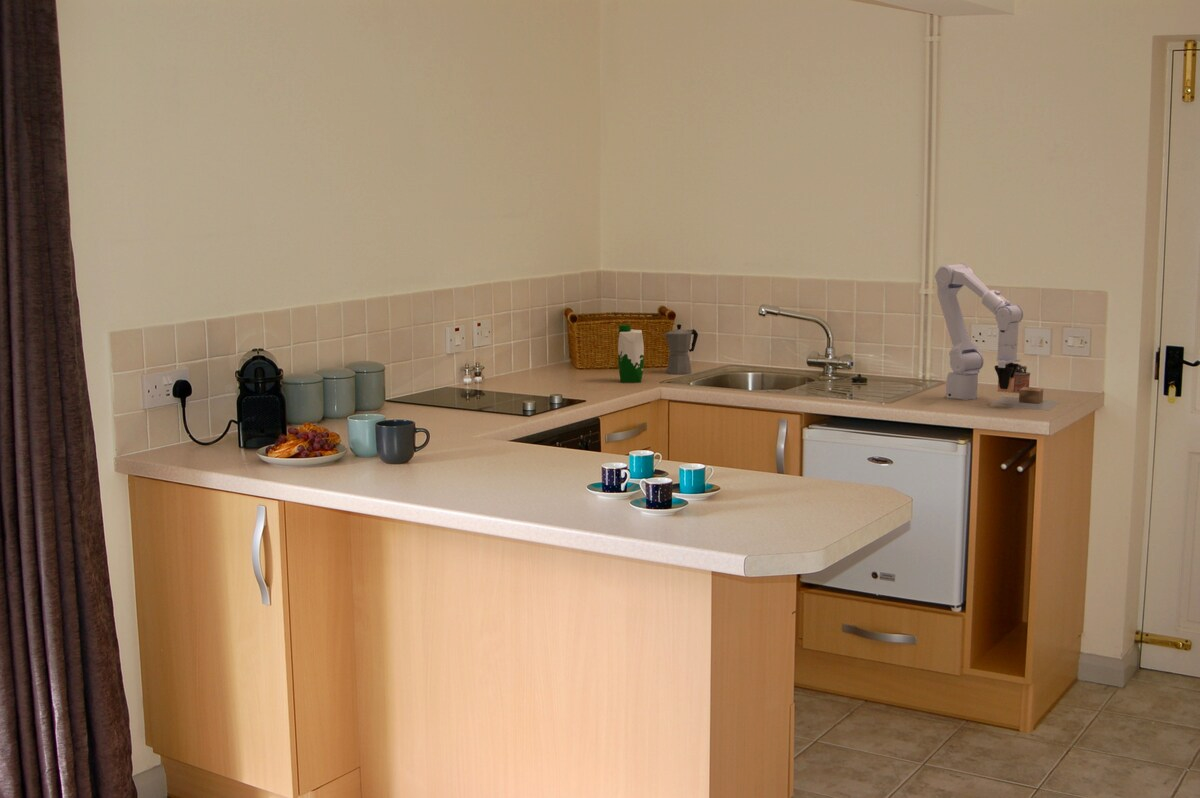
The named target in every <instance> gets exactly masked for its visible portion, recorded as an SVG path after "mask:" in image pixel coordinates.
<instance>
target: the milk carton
mask: <svg viewBox="0 0 1200 798" xmlns="http://www.w3.org/2000/svg"><path fill="white" fill-rule="evenodd" d="M644 349H645V346H644V337H643V331H642V329H631V325H630V324H619V325H618V344H617V350H618V352H617V354H618V359H617V363H618V372H619V373H618V374H619V378H620V383H621V384H622V383H623V384H624V383H625V384H626V383H627V384H629V383H631V384H632V383H633V384H634V383H642V379H643V375H644V367H645V365H644V364H645V350H644Z"/></svg>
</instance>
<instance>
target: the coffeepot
mask: <svg viewBox="0 0 1200 798" xmlns="http://www.w3.org/2000/svg"><path fill="white" fill-rule="evenodd" d="M676 328H677V329H674V330H669V331H666V332H665V333H664V337H665V338H666V341H667V347H668V351H669V355H668V360H667V366H666V373H667V374H668V375H676V376H677V375H679V376H680V375H689V374H691V373H692V366H691V360H690V355H689V353H690V352H691V353H692V352H694V351H695V348H696V344H697V340H698V338H699V334H698V332H697V331H696V329H694V328H693V329H692V328H691V329H686V330H685V329H682V324H680V323H678V324H676ZM692 335H693V337H692ZM691 339H692V340H691ZM691 341H692V343H691ZM690 345H691V348H690Z"/></svg>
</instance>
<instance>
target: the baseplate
mask: <svg viewBox="0 0 1200 798" xmlns="http://www.w3.org/2000/svg"><path fill="white" fill-rule="evenodd" d="M1060 402H1061V401H1060V400H1051V399H1050V400H1049V399H1043V401H1042V402H1040V403H1039V404H1034V403H1022V402H1019V397H1011V396H1000V397H999V398H998V399H996V400H995V401H994V402H992V403H991V404H988V406H989V407H1000V408H1012V409H1013V408H1014V409H1026V410H1036V411H1038V410H1039V411H1051V409H1053V408H1054V407H1055V406H1056V405H1058V404H1059V403H1060Z"/></svg>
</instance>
